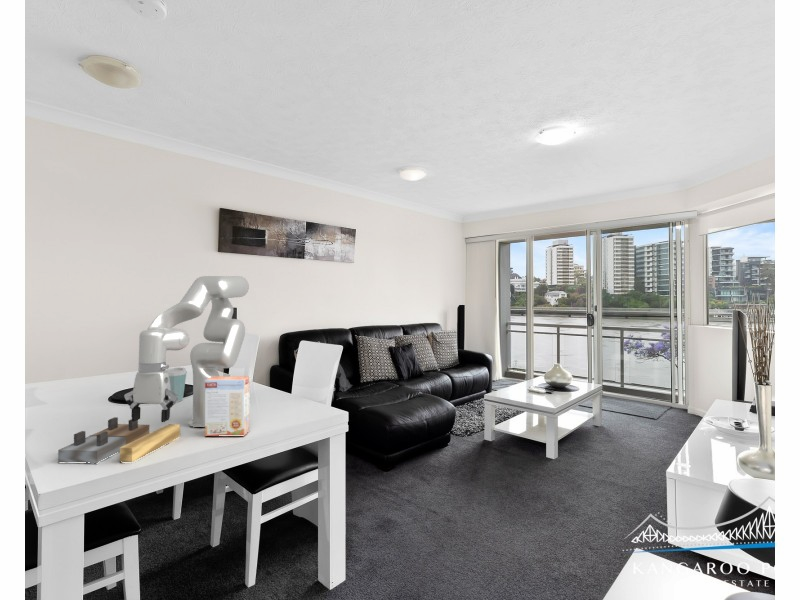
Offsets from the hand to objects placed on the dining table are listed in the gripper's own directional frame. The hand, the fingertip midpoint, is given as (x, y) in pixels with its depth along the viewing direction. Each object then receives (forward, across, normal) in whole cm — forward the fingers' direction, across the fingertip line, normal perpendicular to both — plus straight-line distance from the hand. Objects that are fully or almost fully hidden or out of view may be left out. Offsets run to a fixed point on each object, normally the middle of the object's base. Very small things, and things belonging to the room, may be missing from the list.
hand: (150, 420), depth 132 cm
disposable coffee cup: (+8, +27, -58) cm, 65 cm away
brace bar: (+10, 0, -1) cm, 10 cm away
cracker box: (+9, -18, -16) cm, 26 cm away
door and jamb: (+10, +15, -1) cm, 18 cm away
